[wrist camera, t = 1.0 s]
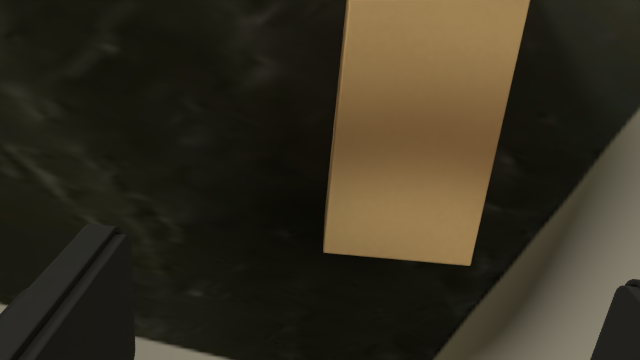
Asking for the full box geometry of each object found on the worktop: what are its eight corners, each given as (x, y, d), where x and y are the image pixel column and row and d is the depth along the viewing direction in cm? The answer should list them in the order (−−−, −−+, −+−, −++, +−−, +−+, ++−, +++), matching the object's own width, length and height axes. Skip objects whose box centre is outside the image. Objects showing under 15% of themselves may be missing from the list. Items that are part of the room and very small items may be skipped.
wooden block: (353, -70, 22) (356, -73, 19) (513, -55, 22) (543, -55, 19) (324, 217, 27) (322, 253, 24) (454, 229, 27) (470, 266, 24)
